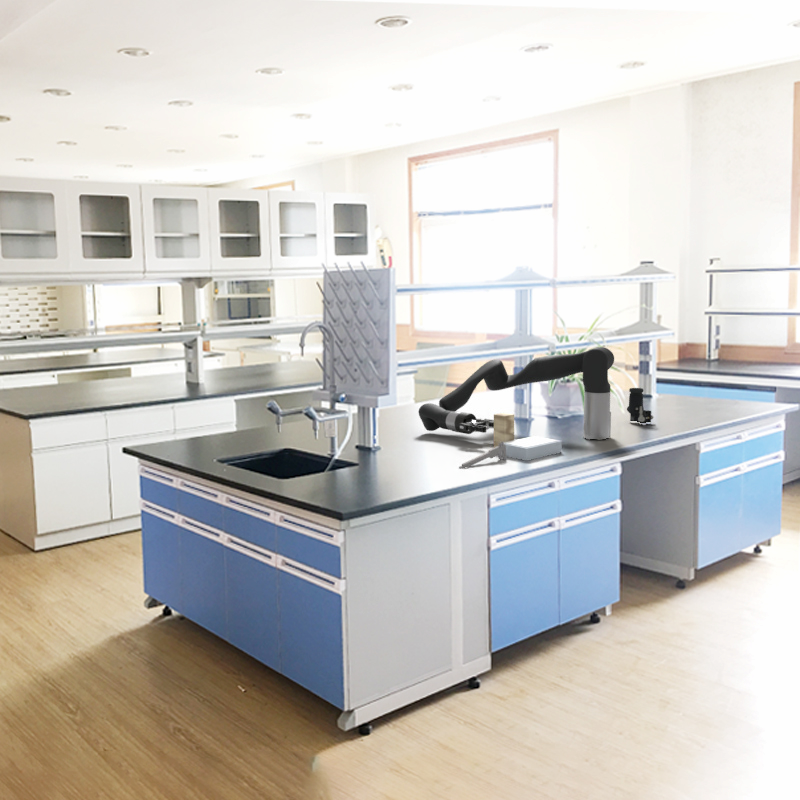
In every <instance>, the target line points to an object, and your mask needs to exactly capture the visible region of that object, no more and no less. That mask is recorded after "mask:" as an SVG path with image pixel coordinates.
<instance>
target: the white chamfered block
mask: <svg viewBox="0 0 800 800" xmlns="http://www.w3.org/2000/svg"><path fill="white" fill-rule="evenodd" d="M562 442H563V440H559V439H553V438H547V437H541V436H537V435H533V436H529V437H523V438H518V439H514V440H513V441H508V442H503V443H504V444H505V446H506V458H507V457H508V458H511V457H512V458H511V459H516V458H517V459H518V460H521V459H522V461H532V460H536V459H541V458H544V457H548V456H547V455H549V456H552V455H551V454H553V455H556V453H557V454H561V453H560V452H562V447H563V445H562V444H563V443H562ZM501 454H502V451H501ZM543 456H544V457H543ZM531 459H532V460H531Z"/></svg>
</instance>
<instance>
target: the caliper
mask: <svg viewBox="0 0 800 800" xmlns="http://www.w3.org/2000/svg"><path fill="white" fill-rule="evenodd" d="M501 451H502V454H501ZM496 457H497V458H498V460H499V459H500V461H503V460H506V458H507V456H506V446H505V444H504V443H503V442H502V441H501V443H499V446H497V447H495V448H494V447H493V448H491V449H488V451H487V452H484V453H483V454H480V455H479V456H477V457H474V458H471V459H470V460H468V461H465V462H463V463H461V465H460V466H458V469H461V468H462V469H466V468H465V467H467V468H469V467H471V466H473V465H475V464H478V463H480V462H482V461H484V460H486V459H488V458H489V459H493V458H496Z"/></svg>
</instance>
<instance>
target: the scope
mask: <svg viewBox="0 0 800 800" xmlns="http://www.w3.org/2000/svg"><path fill="white" fill-rule="evenodd" d="M628 391H629V396H628V398H629V399H628V406H627V407H626V410H627V412H628V413H629V416H630V417H629V419H630V420H629V422H630V421H637V422H640V423H646V422H651V423H652V420H653V419H654V415H653V414H652V410H645V409H644V388H641V387H631V388H629V390H628Z"/></svg>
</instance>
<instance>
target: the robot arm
mask: <svg viewBox="0 0 800 800" xmlns="http://www.w3.org/2000/svg"><path fill="white" fill-rule="evenodd" d="M614 362H615V355H614V353H613V352H612V350H611V349H609V348H607V347H603V346H597V347H593V348H591V349H588V350H586V351H582V352H581V351H580V352H578V353H576V352H575V353H568V354H567V353H563V354H562V353H561V354H553V355H546V356H540V357H536V358H533V359H532V360H530V361H529V362H528V363H527V364H526V366H524V367H523V368H522V369H521V370H520V371H519V372H517V373H514V374H508V373H507V370H506V367H505V365H504V363H503V361H502V360H500V359H492V360H489V361H487V362H485V363H484V364H482V365H481V366H480V367H479V368H478V369H476V371H474V373H471V375H470V376H469V377H467V379H466V380H465V381H464V382H463V383H461V384H460V385H459V386H458V387H456V388H455V389H453V390H452V391H450V392H449V393H448V394H446V395H445V396H443V397H442V398H441V399H439V401H438V404H436V403H435V404H434V403H430V402H429V403H424V404H422V405H421V406H420V407H419V408H418V416H419V418H420V420H421V422H422V425H423V426H424V429H426V430H427V431H429V432H434V431H436V430H438V429H440V428H441V429H443V430H448V431H452V432H455V433H461V434H465V435H470V434H472V433H477V432H478V433H487V430H489V429H493V430H494V419H489V418H483V419H482V418H476V415H474V414H473V413H470V412H463V411H458V410H459V409H461V408H462V407H464V406H465V405H466V404H467V403H468V402H469V400H470V399H471V396H472V395H473V393H474V391H475V389H476V387H478V385H479V384H480V382H481V381H484V383H485V385H486V387H487V389H488V390H490V391H502V390H505V389H509V388H513V387H517V386H522V385H527V384H534V383H540V382H541V383H542V382H549V381H555V380H557V379H558V380H559V379H563V378H566V377H570V376H573V375H575V374H580V373H582V383H583V384H582V385H583V387H584V390H583V391H584V393H583V394H584V396H583V401H584V402H583V405H584V406H583V439H585V438H586V440H590V439H606V438H609V439H610V437H611V428H612V425H611V424H612V412H611V384H610V382H609V379H608V376H609V375H608V373H609V372H608V371H609V370H610V369H611V368H612V366H613V365H614ZM609 436H610V437H609ZM606 440H607V439H606Z"/></svg>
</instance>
